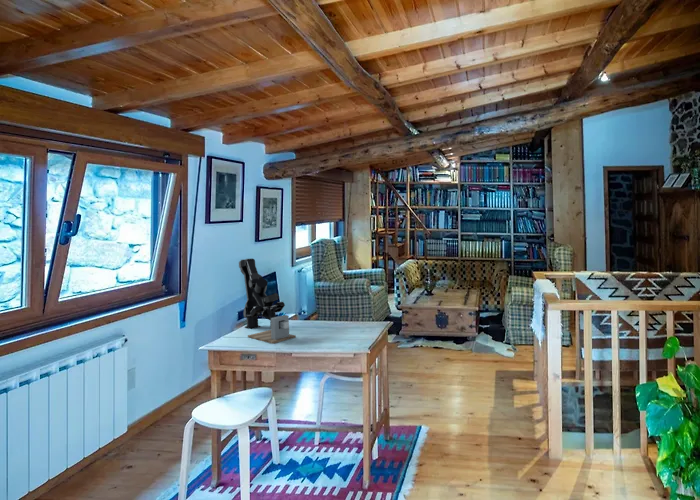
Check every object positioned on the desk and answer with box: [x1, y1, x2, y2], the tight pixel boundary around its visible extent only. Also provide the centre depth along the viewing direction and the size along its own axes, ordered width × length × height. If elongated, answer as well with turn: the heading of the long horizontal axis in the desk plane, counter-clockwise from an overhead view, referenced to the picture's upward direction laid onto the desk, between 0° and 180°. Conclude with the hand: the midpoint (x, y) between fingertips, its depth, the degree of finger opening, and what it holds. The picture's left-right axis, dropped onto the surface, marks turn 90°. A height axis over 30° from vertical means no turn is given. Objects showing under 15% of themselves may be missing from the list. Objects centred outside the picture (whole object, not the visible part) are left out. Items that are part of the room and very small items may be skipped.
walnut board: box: [247, 329, 297, 345], centre depth 254 cm, size 20×15×1 cm
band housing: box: [269, 314, 290, 340], centre depth 249 cm, size 3×9×10 cm, turn 138°
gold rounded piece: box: [279, 320, 290, 329], centre depth 248 cm, size 8×5×5 cm, turn 48°
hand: (275, 322), depth 251 cm, fingers closed, pressing on gold rounded piece
